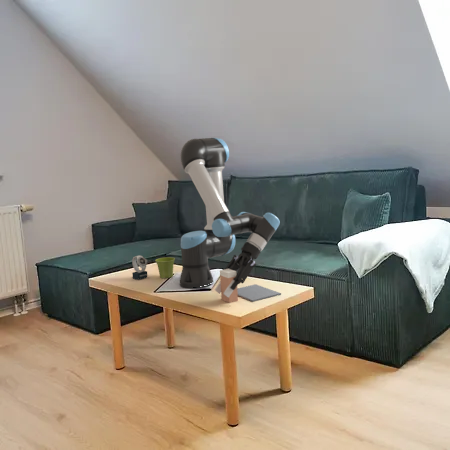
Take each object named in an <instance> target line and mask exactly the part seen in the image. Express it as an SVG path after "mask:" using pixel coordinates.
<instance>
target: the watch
mask: <svg viewBox="0 0 450 450" xmlns="http://www.w3.org/2000/svg"><path fill="white" fill-rule="evenodd" d="M147 264H148V259H146V258H145V257H144V256H143V255H140V254H139V255H136V256H133V258H132V267H133V270H134V272H131V273H132V280H136V281H140V280H144V279H147V278H148V271H146V269H147V266H148V265H147ZM139 268H140V269H139Z"/></svg>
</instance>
